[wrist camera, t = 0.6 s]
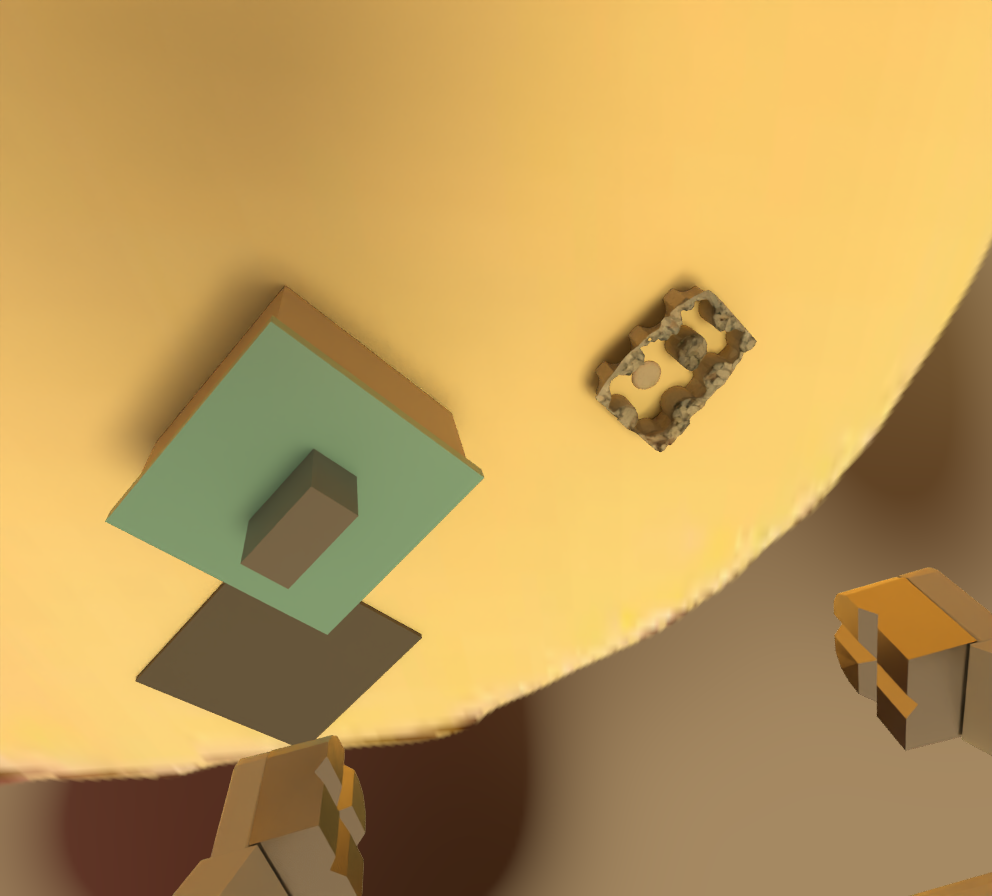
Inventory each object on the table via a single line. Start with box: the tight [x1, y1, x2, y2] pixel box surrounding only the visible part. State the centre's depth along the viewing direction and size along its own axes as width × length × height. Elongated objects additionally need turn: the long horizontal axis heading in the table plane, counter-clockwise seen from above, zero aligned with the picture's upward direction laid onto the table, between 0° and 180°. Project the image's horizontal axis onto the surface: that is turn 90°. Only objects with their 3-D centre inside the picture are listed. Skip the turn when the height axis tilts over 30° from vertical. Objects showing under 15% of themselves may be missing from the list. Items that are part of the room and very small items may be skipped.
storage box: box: [141, 286, 466, 474], centre depth 44 cm, size 14×14×8 cm
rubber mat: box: [136, 582, 422, 745], centre depth 57 cm, size 16×16×1 cm
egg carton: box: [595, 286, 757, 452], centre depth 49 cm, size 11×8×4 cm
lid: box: [105, 315, 484, 635], centre depth 39 cm, size 15×15×6 cm
